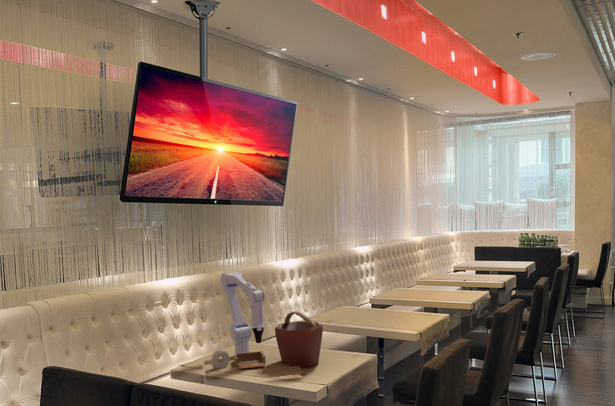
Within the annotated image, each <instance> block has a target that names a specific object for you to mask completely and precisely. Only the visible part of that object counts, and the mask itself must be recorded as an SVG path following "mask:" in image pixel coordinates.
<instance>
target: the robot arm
mask: <svg viewBox="0 0 615 406" xmlns="http://www.w3.org/2000/svg"><path fill="white" fill-rule="evenodd" d="M220 276H221V277H220V283H221V286H222V287H221V288H222V290H223V291H225V295H226V300H227V303H228V306H229V310H230V315H231V317H232V322H233V323H232V324H231V325H230V327H229V330H230V337H231V339H232V340H233V341H234V351H235V352H234V354H238V353H248V352H250V341H249V340H250V339H251V337H252V334H253V335H254V338H255V343H256V344H261V343H262V338H263V333H264V330H265V328H264V326H266V325H267V323H266V322H264V308H263V302H264V301H265V298H266V297H265V292H264V291H263V289H258V288H256V287H255V286H254V285H253V284H252V283H251V282H247V281H246V280H245V279H244V278H243V275H242V273H241V272H240V271H233V272H232V271H231V272H223V273H222V274H221V275H220ZM239 288H241V292H242V293H243V294H245V296H246V297H247V298H248V302H249V306H250V311H251V312H250V314H251V326H250V323H249V321H247V320H245V319H244V317H243V314H242V310H241V305H240V302H239V299H238V296H237V295H238V294H237V292H236V291H237V290H238V289H239ZM251 327H252V328H251Z"/></svg>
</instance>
